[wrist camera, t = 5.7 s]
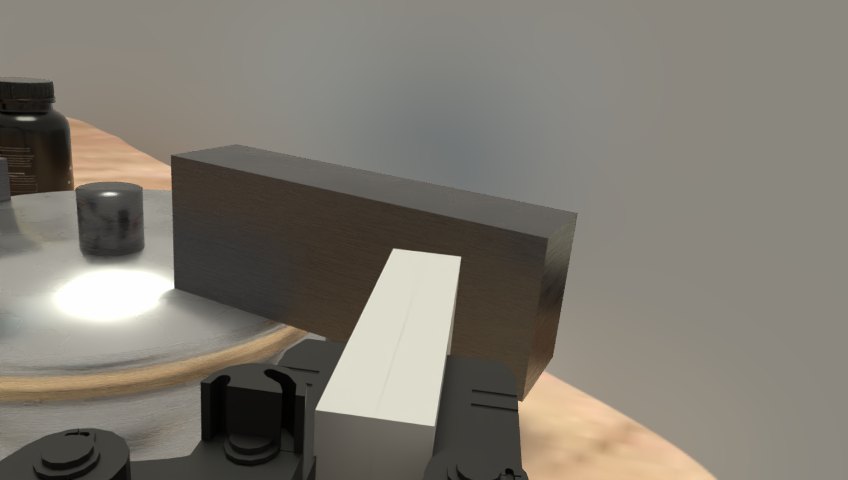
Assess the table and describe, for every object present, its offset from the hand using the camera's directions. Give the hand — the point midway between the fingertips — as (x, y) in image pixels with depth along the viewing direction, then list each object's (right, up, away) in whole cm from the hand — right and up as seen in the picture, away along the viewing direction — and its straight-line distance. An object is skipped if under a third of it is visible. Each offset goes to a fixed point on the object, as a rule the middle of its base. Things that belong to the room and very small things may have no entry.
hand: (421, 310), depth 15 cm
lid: (-10, -1, +11) cm, 15 cm away
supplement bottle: (-35, +4, +45) cm, 57 cm away
